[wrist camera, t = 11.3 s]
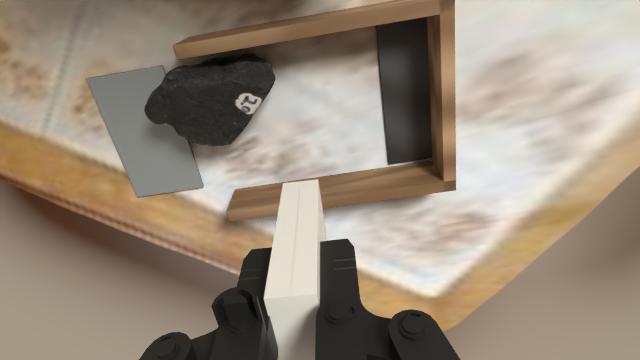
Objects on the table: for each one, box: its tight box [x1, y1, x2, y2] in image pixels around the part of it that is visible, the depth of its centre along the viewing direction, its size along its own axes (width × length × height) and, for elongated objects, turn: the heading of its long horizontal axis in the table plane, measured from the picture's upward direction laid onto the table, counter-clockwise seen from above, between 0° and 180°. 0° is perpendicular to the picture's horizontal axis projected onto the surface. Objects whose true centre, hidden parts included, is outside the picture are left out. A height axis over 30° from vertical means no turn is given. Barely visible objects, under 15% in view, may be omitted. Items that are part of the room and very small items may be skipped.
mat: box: [86, 66, 204, 197], centre depth 44 cm, size 14×8×1 cm, turn 9°
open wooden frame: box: [173, 0, 456, 222], centre depth 40 cm, size 18×24×5 cm
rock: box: [144, 53, 275, 146], centre depth 39 cm, size 8×11×10 cm
